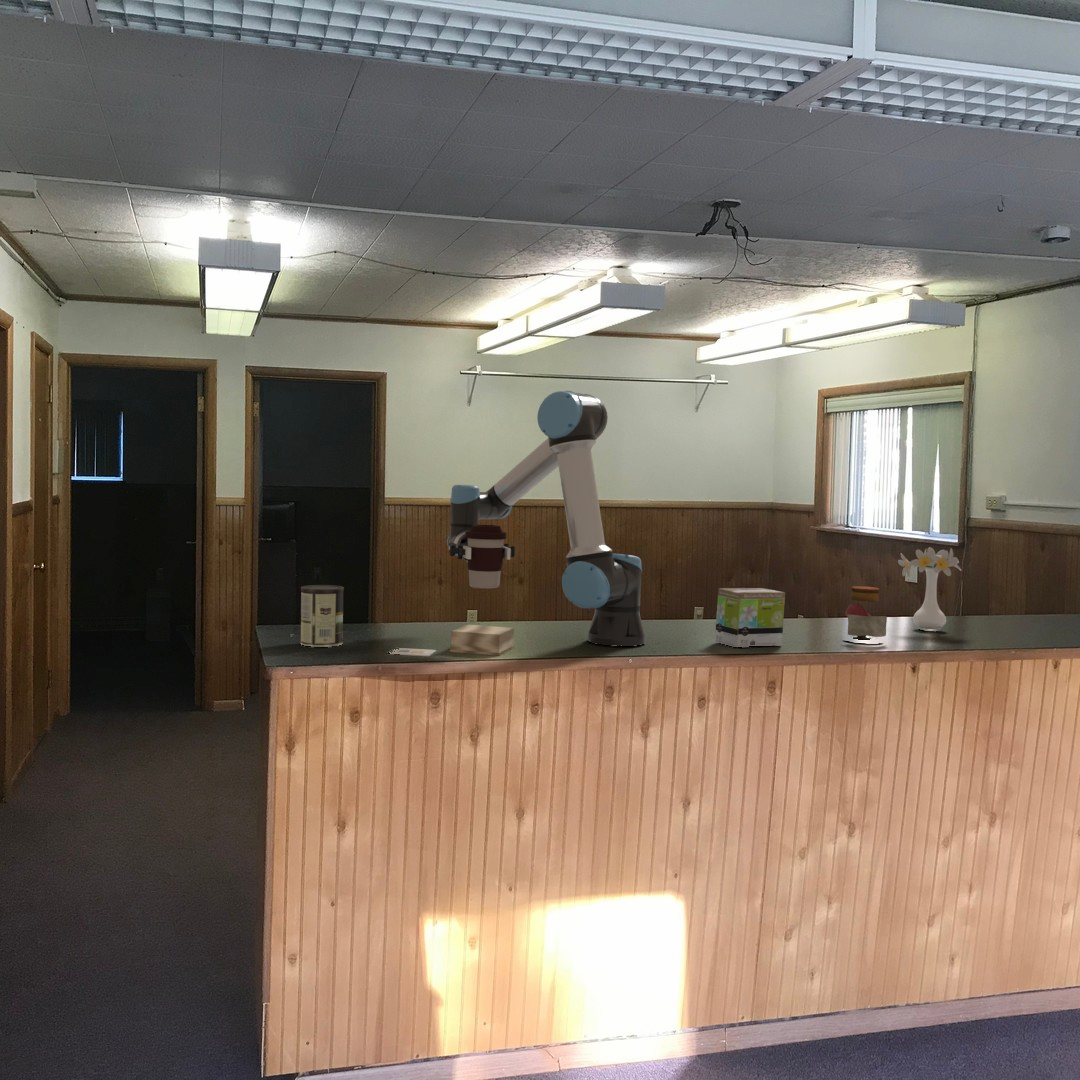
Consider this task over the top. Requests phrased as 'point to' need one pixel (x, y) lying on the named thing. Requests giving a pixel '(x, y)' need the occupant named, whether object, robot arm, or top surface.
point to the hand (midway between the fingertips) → (489, 553)
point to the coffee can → (322, 615)
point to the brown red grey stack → (864, 615)
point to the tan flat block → (482, 640)
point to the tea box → (749, 617)
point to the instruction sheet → (413, 652)
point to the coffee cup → (485, 555)
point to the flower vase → (930, 584)
